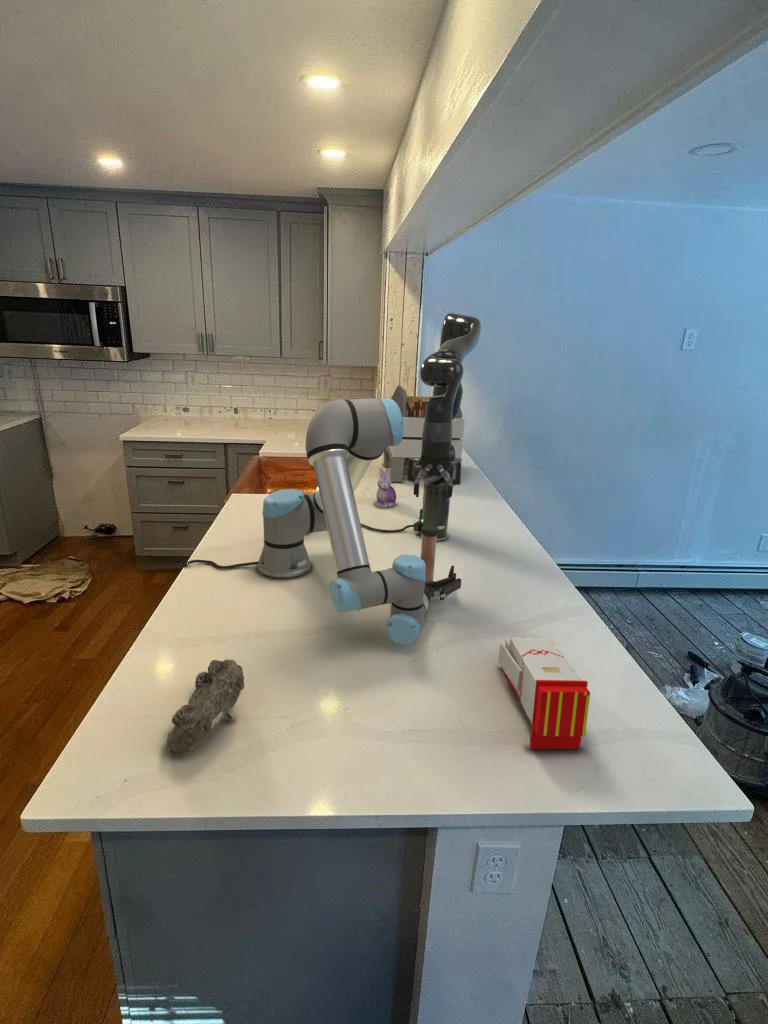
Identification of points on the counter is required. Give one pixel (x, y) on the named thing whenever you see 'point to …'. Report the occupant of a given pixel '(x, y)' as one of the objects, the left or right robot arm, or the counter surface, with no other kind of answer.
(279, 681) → the counter surface
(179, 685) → the counter surface
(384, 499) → the figurine
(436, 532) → the lid
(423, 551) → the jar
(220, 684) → the fossil
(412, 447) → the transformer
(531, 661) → the toy
